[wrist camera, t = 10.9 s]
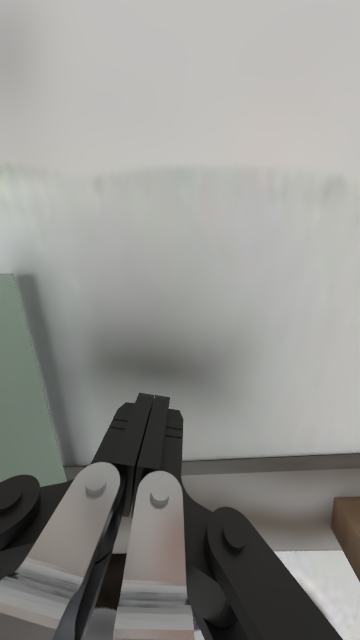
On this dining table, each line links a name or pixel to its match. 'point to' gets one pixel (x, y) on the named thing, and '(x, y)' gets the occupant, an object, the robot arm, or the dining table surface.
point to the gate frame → (278, 500)
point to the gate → (23, 400)
